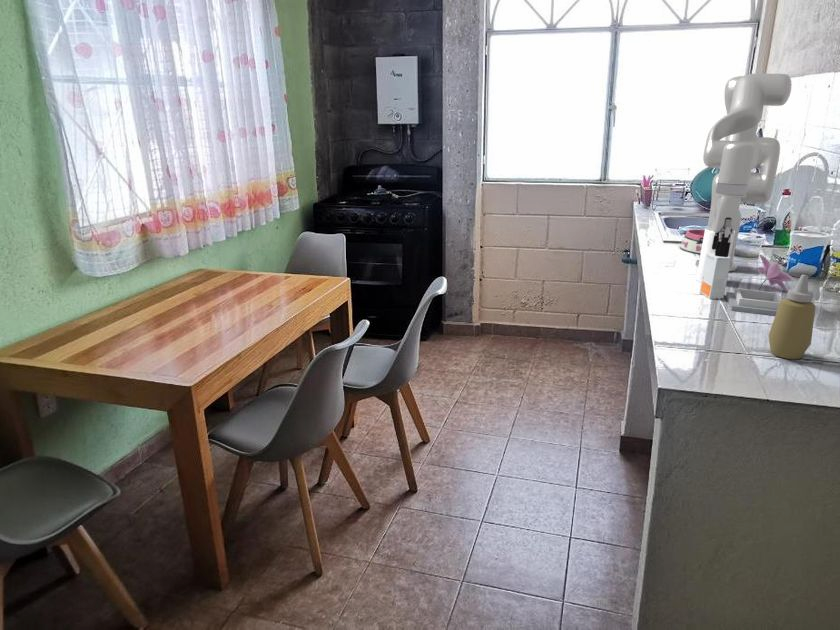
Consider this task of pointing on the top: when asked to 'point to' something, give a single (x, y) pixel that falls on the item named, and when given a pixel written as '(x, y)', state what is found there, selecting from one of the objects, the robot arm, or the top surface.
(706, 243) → the cup
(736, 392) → the top surface
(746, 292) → the grey square frame
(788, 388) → the top surface
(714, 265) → the skincare box
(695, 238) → the dog bowl
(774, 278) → the lily
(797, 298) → the squeeze bottle
